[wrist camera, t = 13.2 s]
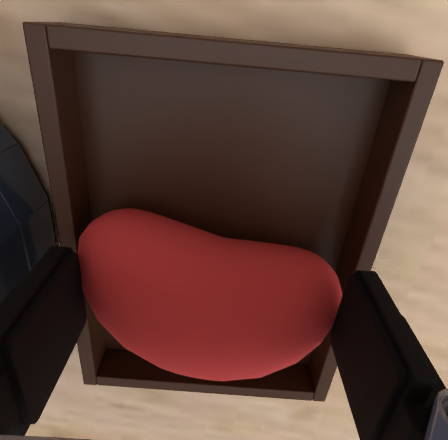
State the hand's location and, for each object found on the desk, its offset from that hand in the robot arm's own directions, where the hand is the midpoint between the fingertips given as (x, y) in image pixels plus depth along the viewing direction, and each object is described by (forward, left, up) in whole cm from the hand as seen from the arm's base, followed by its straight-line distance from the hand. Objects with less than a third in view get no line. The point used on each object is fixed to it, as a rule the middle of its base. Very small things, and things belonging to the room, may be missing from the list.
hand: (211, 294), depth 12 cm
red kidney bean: (0, -1, -3) cm, 3 cm away
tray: (0, 0, -4) cm, 4 cm away
